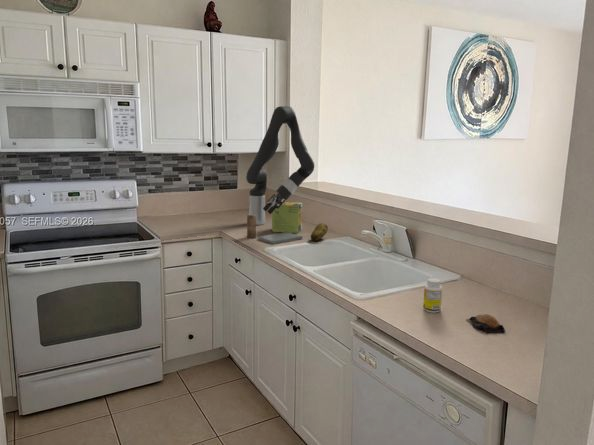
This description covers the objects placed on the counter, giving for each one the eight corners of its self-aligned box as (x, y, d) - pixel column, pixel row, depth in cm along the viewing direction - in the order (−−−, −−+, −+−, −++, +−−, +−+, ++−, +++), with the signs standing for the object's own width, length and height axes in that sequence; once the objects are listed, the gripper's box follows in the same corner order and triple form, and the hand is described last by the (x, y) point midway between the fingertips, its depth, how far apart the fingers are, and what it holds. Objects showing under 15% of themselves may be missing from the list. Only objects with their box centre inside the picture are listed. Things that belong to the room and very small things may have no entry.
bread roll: (463, 321, 149) (464, 310, 148) (489, 320, 150) (490, 308, 150) (481, 336, 139) (482, 324, 138) (509, 334, 140) (510, 322, 139)
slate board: (258, 239, 250) (258, 236, 249) (286, 234, 262) (286, 231, 261) (273, 244, 240) (273, 241, 240) (302, 239, 252) (302, 236, 252)
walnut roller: (245, 237, 254) (245, 215, 252) (252, 236, 257) (252, 214, 255) (250, 238, 251) (250, 216, 249) (257, 237, 254) (257, 215, 251)
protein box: (298, 233, 266) (299, 205, 263) (271, 231, 269) (271, 204, 266) (302, 229, 276) (302, 202, 273) (276, 227, 279) (276, 201, 276)
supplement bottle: (427, 305, 160) (429, 276, 158) (443, 309, 157) (445, 279, 155) (420, 310, 156) (422, 280, 154) (436, 314, 153) (438, 283, 151)
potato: (304, 240, 250) (304, 224, 248) (321, 236, 259) (321, 221, 257) (315, 242, 244) (315, 227, 242) (332, 239, 253) (333, 224, 251)
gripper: (278, 182, 261) (257, 204, 259) (286, 185, 248) (265, 209, 246) (287, 192, 264) (267, 213, 262) (296, 195, 251) (275, 218, 249)
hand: (266, 211), depth 254 cm, fingers open, 8 cm apart
